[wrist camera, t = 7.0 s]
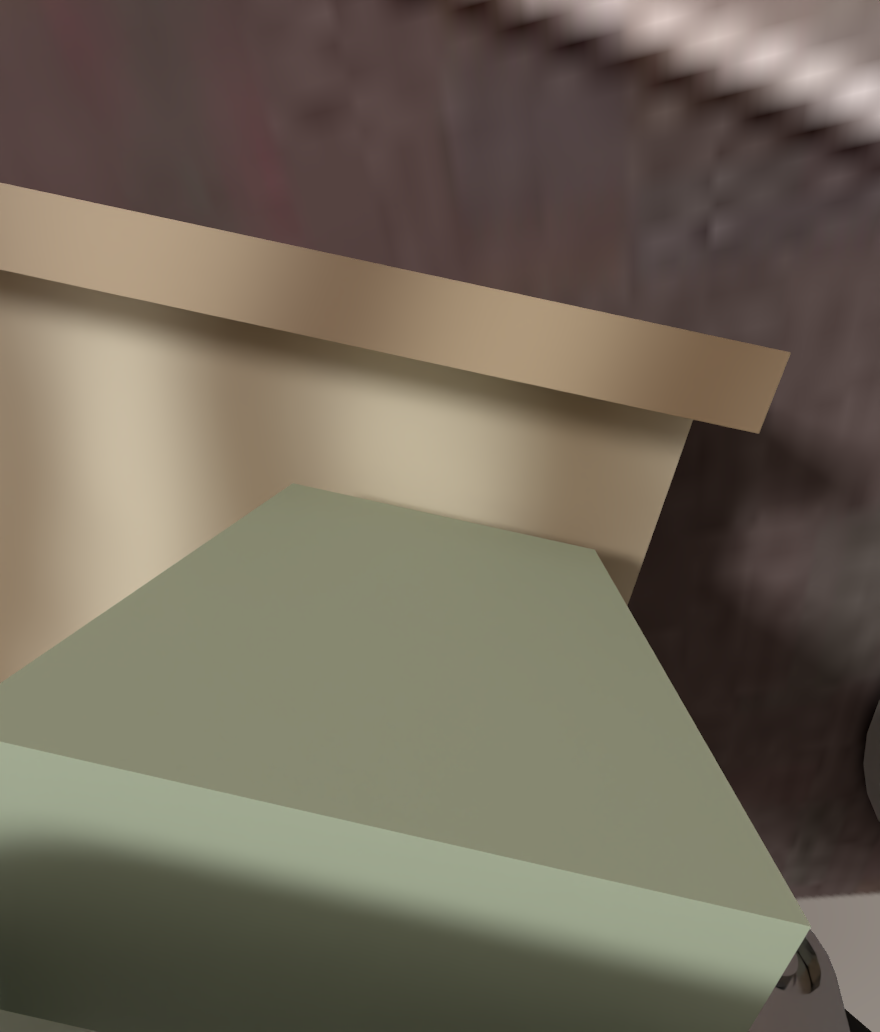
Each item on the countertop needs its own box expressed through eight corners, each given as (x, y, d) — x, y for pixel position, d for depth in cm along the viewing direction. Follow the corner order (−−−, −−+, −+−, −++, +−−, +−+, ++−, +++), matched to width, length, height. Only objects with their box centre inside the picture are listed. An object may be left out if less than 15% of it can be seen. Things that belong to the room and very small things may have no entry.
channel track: (651, 352, 14) (791, 352, 8) (519, 770, 18) (539, 987, 12) (-302, 147, 14) (-919, -16, 8) (-209, 606, 18) (-562, 736, 12)
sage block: (595, 549, 10) (812, 927, 3) (517, 788, 12) (563, 1337, 5) (292, 483, 10) (-67, 728, 4) (262, 731, 12) (-10, 1199, 5)
